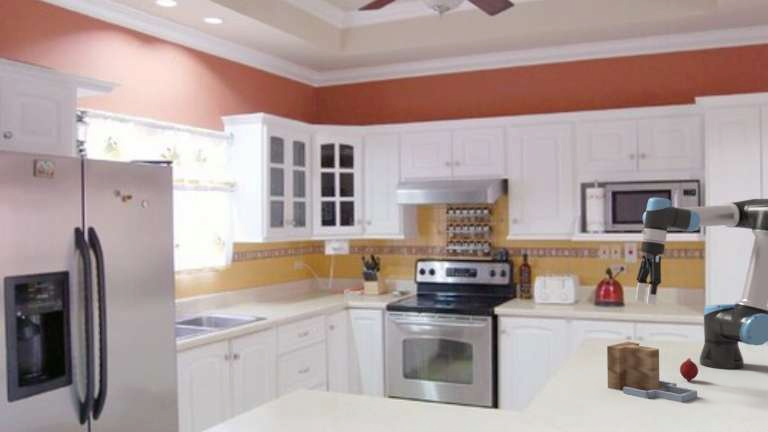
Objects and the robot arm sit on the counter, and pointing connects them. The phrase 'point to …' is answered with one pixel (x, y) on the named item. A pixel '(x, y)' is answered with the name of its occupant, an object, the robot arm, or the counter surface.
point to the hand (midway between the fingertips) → (645, 302)
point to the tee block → (633, 366)
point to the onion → (688, 370)
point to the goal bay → (670, 387)
